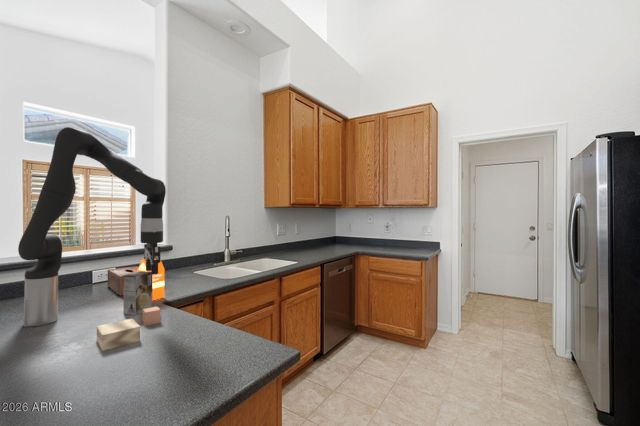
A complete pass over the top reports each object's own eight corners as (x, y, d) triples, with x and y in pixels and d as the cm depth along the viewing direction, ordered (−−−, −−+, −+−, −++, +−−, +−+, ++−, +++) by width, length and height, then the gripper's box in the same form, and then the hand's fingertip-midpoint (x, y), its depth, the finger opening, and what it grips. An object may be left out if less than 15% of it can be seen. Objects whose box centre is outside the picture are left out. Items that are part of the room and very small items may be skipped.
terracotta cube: (145, 325, 108) (145, 312, 108) (142, 322, 111) (142, 309, 111) (160, 322, 111) (160, 309, 111) (156, 319, 115) (157, 306, 115)
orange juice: (164, 298, 143) (164, 257, 143) (147, 303, 135) (147, 259, 135) (153, 296, 146) (154, 256, 146) (136, 300, 138) (136, 258, 138)
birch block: (102, 351, 88) (102, 335, 88) (96, 341, 95) (96, 326, 95) (140, 341, 95) (140, 326, 95) (132, 332, 102) (132, 318, 102)
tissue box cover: (107, 287, 163) (107, 269, 163) (136, 282, 174) (136, 266, 174) (119, 296, 146) (120, 276, 146) (151, 290, 156) (151, 272, 156)
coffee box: (140, 306, 129) (140, 270, 129) (153, 307, 128) (153, 271, 128) (122, 313, 120) (123, 275, 120) (135, 315, 119) (136, 275, 119)
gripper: (136, 229, 114) (136, 271, 114) (145, 231, 103) (144, 276, 103) (158, 229, 119) (157, 268, 119) (168, 230, 109) (167, 274, 108)
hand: (151, 272), depth 111 cm, fingers open, 8 cm apart
